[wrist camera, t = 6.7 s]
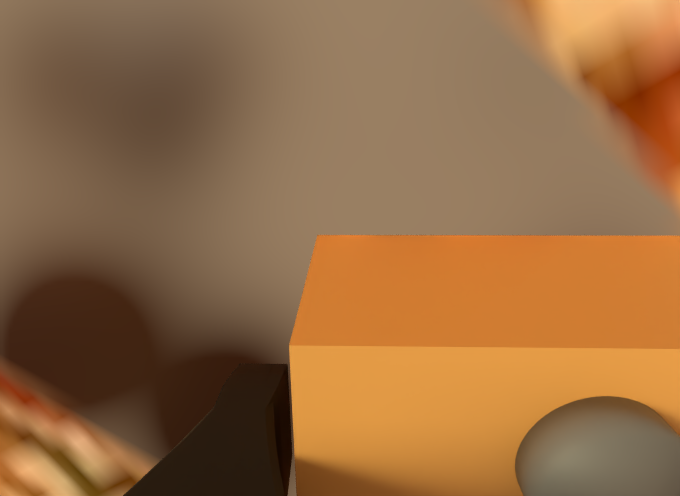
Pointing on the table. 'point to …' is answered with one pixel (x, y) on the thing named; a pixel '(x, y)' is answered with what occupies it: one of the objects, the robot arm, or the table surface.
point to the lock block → (488, 366)
